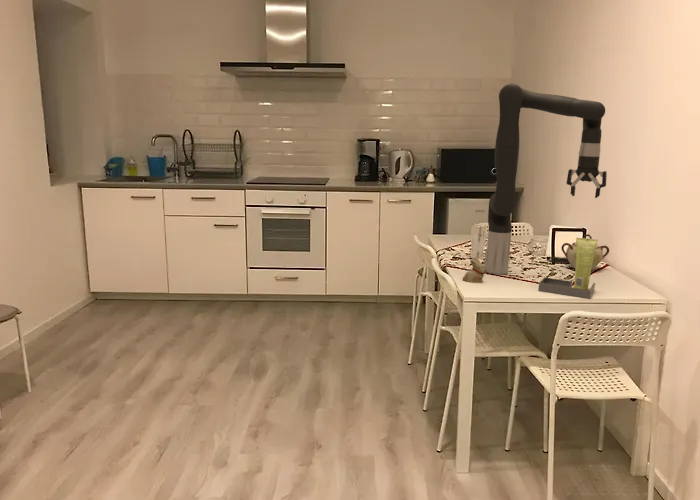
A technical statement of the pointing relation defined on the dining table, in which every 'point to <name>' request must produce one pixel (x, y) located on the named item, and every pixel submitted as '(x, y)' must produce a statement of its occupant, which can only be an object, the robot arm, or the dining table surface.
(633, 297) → the dining table surface
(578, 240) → the tube
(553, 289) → the channel
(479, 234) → the beer glass
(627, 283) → the dining table surface
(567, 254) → the sugar bowl
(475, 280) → the chocolate bunny
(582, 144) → the robot arm
